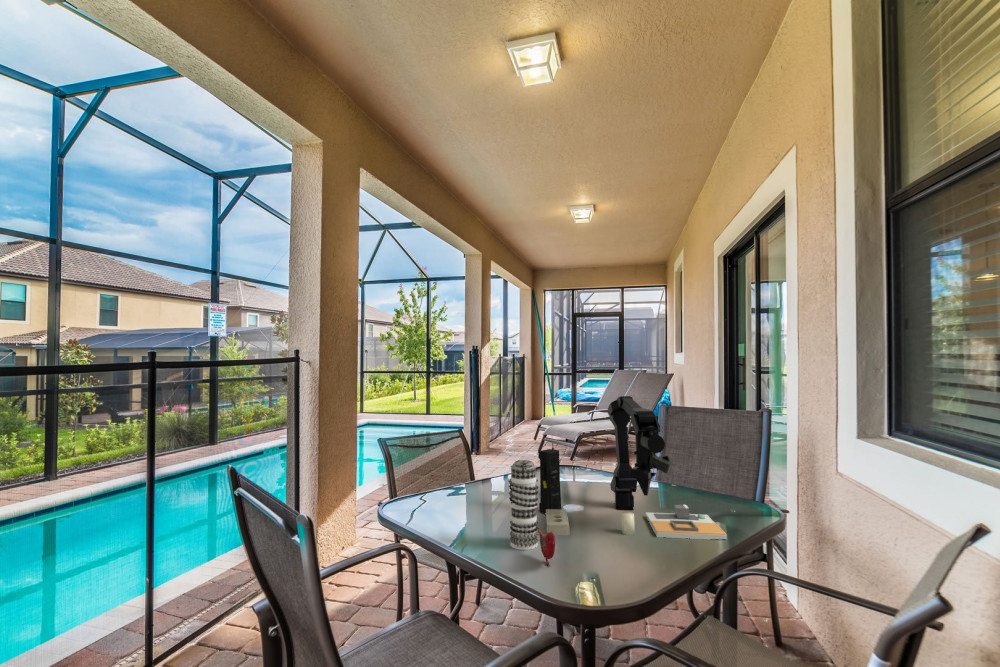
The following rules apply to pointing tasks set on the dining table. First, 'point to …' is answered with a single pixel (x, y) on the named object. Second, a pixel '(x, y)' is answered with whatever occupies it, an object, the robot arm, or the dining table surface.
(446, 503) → the dining table surface
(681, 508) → the block
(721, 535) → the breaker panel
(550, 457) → the portable radio
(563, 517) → the electrical outlet
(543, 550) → the decorative bird figurine
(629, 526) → the lockout cap
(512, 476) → the decorative candle
